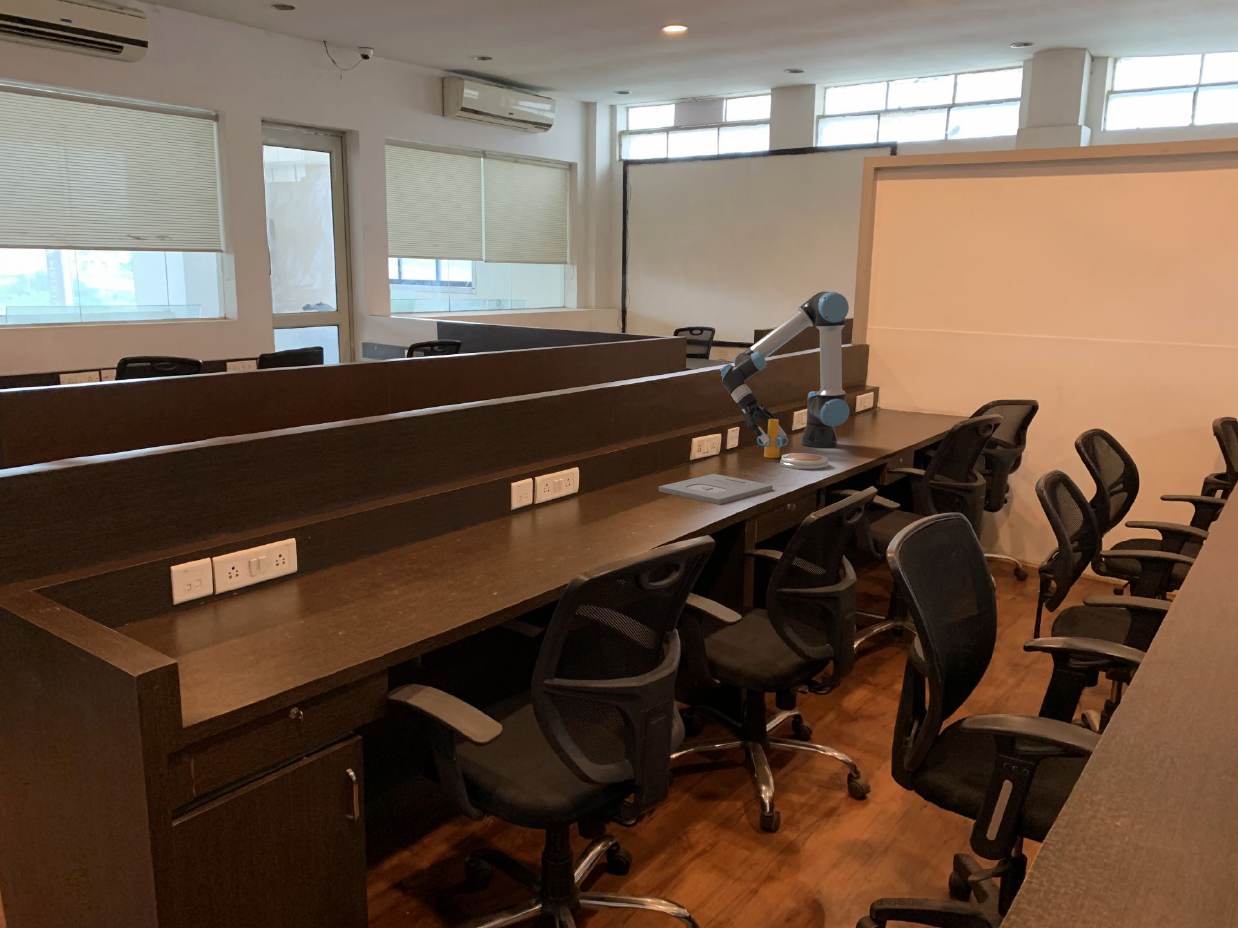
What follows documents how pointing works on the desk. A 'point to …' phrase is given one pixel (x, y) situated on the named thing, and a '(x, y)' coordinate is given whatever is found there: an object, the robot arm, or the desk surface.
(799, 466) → the base
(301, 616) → the desk surface
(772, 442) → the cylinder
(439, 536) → the desk surface
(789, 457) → the platter
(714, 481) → the award plaque
